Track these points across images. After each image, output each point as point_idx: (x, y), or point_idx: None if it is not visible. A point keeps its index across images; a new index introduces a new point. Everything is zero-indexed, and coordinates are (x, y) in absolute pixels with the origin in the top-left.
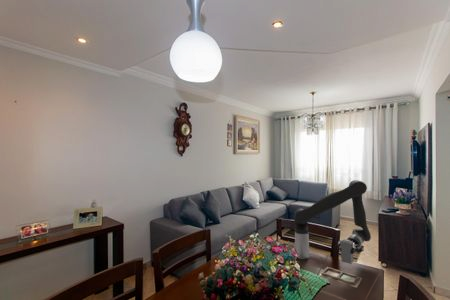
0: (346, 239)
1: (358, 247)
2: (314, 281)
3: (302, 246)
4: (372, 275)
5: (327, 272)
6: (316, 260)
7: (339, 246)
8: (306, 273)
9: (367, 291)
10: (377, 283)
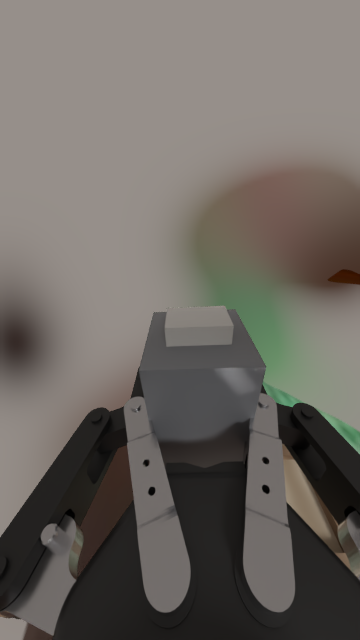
0: (204, 323)
1: (87, 445)
2: (278, 398)
3: None
4: None
5: (312, 503)
6: None
7: (284, 412)
8: (351, 431)
9: (113, 458)
10: (36, 634)
